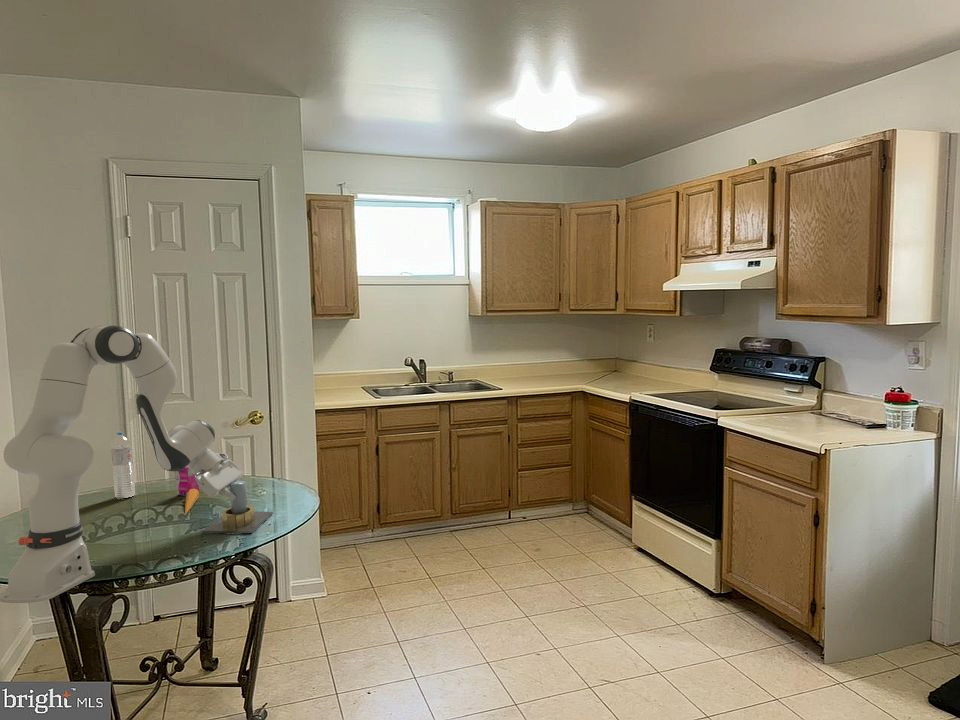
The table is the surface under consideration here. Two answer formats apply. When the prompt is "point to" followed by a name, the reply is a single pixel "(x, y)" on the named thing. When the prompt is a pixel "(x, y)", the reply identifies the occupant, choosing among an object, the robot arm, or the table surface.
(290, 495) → the table surface
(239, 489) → the grey capsule peg
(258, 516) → the mounting plate
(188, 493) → the carrot
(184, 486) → the supplement box
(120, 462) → the water bottle
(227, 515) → the brass socket
